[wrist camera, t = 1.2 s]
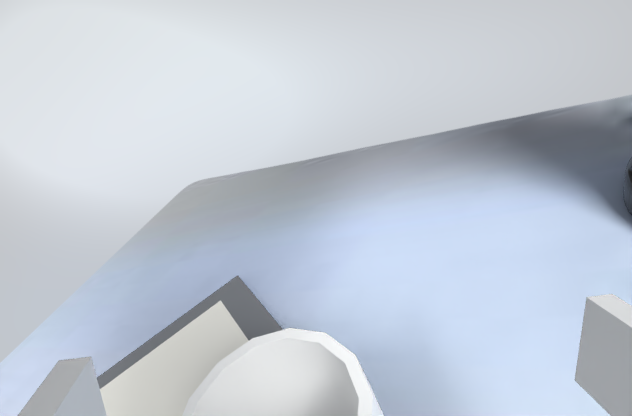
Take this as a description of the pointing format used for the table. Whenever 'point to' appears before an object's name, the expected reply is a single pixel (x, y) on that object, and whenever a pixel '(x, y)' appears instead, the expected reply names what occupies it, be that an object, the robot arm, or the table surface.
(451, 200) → the table surface
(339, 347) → the foam cup
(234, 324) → the picture frame
